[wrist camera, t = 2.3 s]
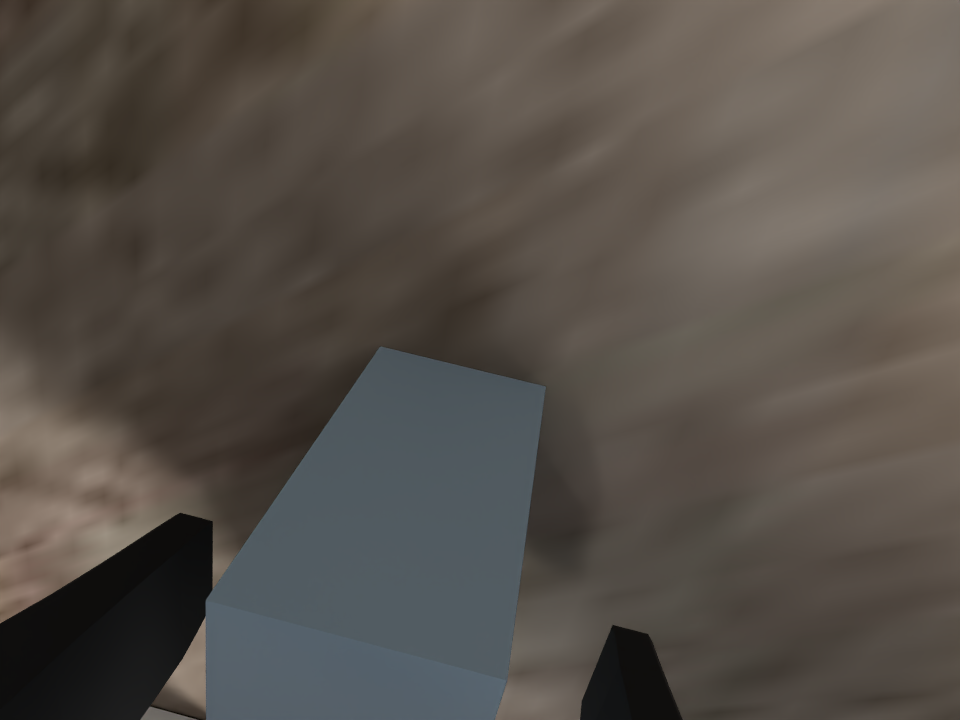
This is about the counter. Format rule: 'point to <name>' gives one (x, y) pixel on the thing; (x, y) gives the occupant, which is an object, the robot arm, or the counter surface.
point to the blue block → (385, 557)
